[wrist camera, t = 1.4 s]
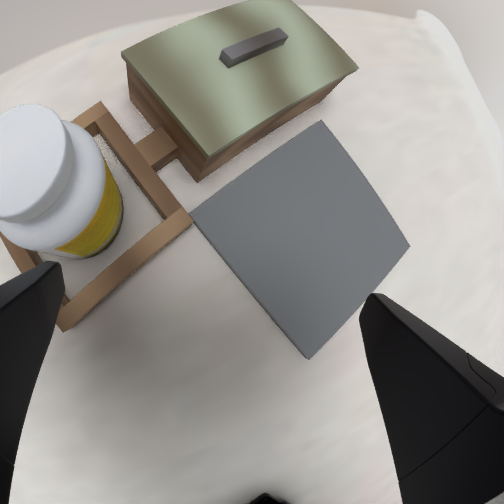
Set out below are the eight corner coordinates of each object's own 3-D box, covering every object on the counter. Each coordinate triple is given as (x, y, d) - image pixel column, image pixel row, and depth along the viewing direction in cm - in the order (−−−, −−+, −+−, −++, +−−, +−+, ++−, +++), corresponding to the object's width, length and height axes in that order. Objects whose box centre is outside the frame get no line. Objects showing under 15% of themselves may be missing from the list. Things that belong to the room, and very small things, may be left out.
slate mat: (305, 358, 24) (309, 359, 23) (188, 215, 22) (188, 214, 21) (406, 246, 27) (410, 246, 27) (318, 122, 26) (321, 119, 25)
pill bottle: (137, 185, 21) (118, 100, 10) (107, 272, 20) (50, 267, 9) (61, 161, 20) (0, 75, 8) (31, 243, 19) (-64, 214, 7)
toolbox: (71, 327, 19) (34, 348, 12) (-6, 205, 18) (-55, 181, 11) (337, 118, 26) (383, 81, 19) (259, 33, 25) (285, -16, 18)
